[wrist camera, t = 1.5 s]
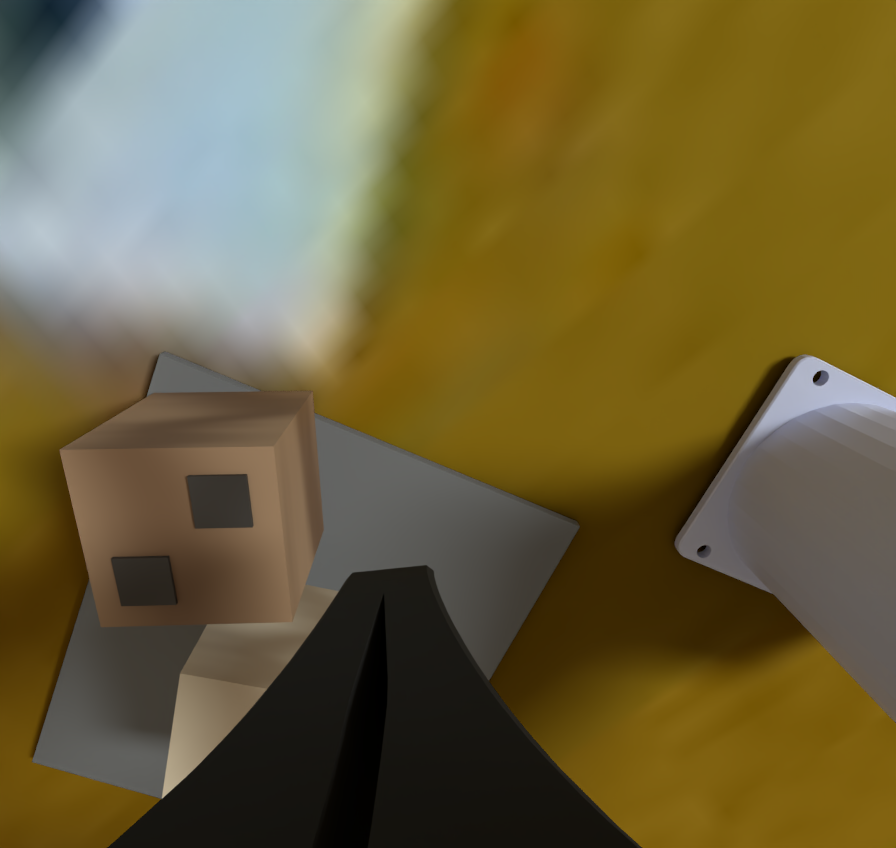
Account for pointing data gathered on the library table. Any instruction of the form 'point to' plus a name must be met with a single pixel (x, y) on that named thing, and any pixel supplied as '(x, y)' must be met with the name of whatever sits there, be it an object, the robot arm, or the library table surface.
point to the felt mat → (338, 556)
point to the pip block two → (199, 508)
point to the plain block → (232, 679)
